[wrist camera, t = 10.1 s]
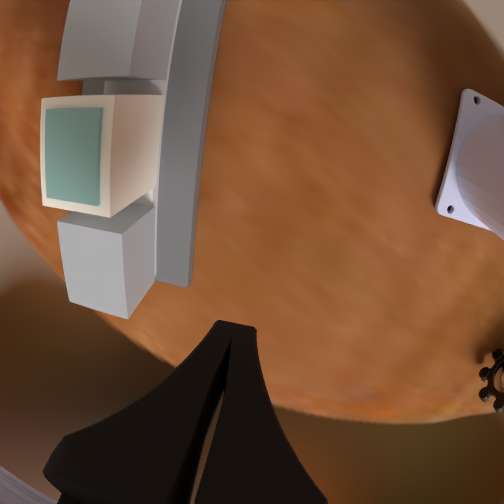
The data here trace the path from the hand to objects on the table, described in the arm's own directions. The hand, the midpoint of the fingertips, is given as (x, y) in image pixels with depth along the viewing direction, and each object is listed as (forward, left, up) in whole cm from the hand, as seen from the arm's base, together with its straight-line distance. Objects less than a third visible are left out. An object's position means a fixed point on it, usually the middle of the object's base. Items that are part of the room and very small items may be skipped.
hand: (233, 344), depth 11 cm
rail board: (+8, -6, -9) cm, 14 cm away
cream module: (+8, -5, -8) cm, 12 cm away
